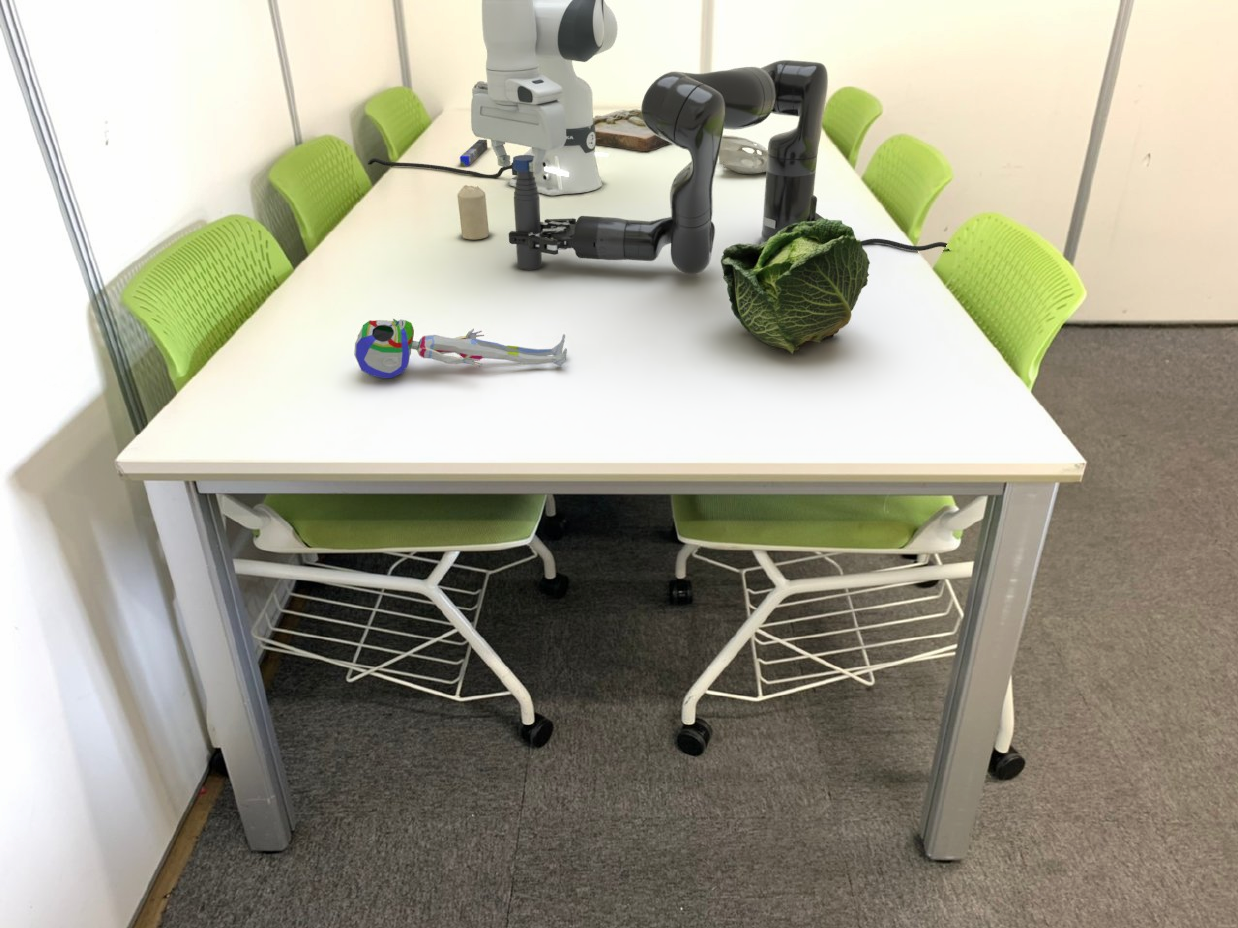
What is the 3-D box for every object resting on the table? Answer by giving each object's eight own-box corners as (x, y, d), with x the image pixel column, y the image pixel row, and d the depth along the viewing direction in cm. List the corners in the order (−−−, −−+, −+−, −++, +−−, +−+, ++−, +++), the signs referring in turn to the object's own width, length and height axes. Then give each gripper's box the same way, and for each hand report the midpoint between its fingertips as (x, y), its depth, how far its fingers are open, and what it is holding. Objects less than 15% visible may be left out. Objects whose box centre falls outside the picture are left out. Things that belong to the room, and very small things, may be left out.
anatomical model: (705, 127, 227) (805, 126, 223) (705, 164, 232) (803, 164, 228) (701, 141, 214) (807, 140, 211) (701, 180, 219) (804, 180, 216)
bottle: (512, 265, 168) (506, 162, 158) (530, 259, 171) (525, 158, 161) (529, 271, 166) (524, 167, 156) (547, 265, 169) (543, 162, 159)
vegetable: (752, 365, 147) (694, 260, 139) (847, 299, 148) (795, 192, 140) (808, 391, 128) (745, 272, 121) (916, 316, 130) (860, 193, 122)
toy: (569, 347, 126) (349, 329, 122) (563, 400, 131) (350, 385, 126) (565, 318, 135) (359, 301, 130) (559, 369, 139) (360, 354, 134)
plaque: (647, 125, 237) (559, 112, 252) (647, 153, 241) (560, 139, 256) (706, 107, 258) (622, 97, 273) (705, 133, 262) (622, 121, 277)
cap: (508, 170, 158) (508, 159, 157) (521, 164, 161) (520, 153, 160) (529, 173, 157) (529, 162, 156) (541, 167, 160) (540, 156, 159)
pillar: (486, 139, 247) (467, 157, 231) (487, 147, 249) (468, 166, 232) (479, 139, 248) (459, 157, 231) (479, 147, 249) (460, 166, 232)
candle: (493, 232, 185) (489, 183, 180) (481, 241, 181) (476, 191, 175) (469, 230, 187) (464, 181, 181) (457, 238, 182) (451, 189, 177)
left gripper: (458, 82, 155) (467, 164, 163) (543, 94, 144) (548, 182, 151) (485, 77, 159) (492, 157, 167) (570, 89, 148) (573, 174, 156)
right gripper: (612, 206, 166) (524, 201, 170) (593, 230, 155) (499, 224, 158) (612, 246, 170) (527, 240, 174) (594, 272, 159) (502, 265, 162)
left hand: (519, 169), depth 159 cm, fingers open, 6 cm apart
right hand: (514, 233), depth 166 cm, fingers closed on bottle, 4 cm apart
